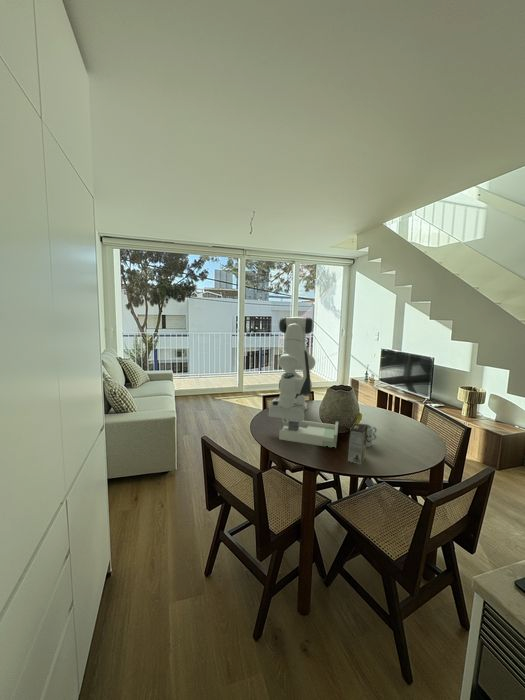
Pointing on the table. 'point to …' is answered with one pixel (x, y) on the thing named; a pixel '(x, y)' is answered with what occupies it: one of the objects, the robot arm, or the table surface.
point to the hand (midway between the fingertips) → (285, 425)
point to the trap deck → (312, 433)
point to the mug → (369, 434)
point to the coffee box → (357, 443)
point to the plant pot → (358, 419)
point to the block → (293, 425)
